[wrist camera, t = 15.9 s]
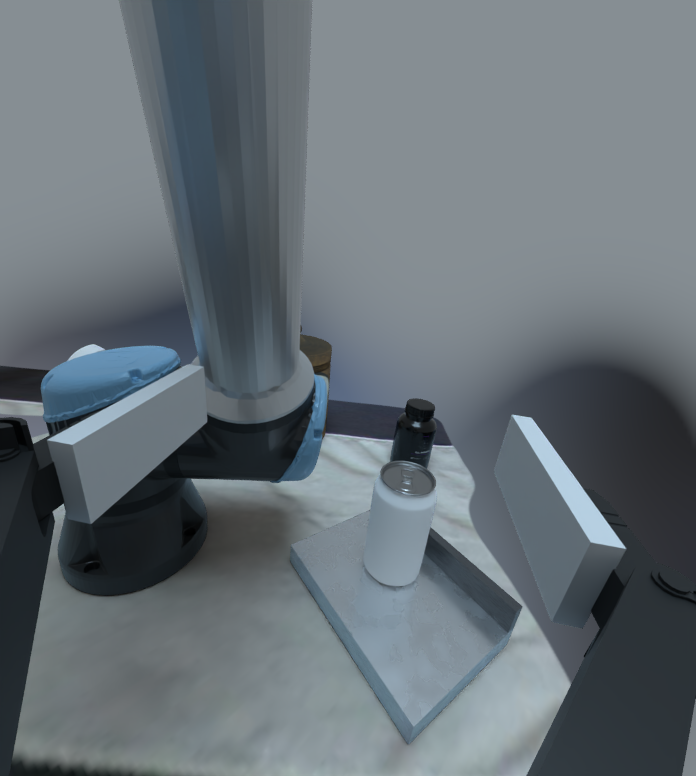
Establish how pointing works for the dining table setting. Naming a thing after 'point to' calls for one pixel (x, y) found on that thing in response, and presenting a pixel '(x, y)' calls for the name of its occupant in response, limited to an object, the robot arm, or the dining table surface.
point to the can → (399, 522)
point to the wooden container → (318, 359)
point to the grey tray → (407, 620)
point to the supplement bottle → (415, 433)
